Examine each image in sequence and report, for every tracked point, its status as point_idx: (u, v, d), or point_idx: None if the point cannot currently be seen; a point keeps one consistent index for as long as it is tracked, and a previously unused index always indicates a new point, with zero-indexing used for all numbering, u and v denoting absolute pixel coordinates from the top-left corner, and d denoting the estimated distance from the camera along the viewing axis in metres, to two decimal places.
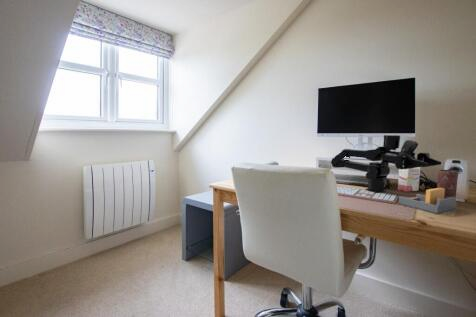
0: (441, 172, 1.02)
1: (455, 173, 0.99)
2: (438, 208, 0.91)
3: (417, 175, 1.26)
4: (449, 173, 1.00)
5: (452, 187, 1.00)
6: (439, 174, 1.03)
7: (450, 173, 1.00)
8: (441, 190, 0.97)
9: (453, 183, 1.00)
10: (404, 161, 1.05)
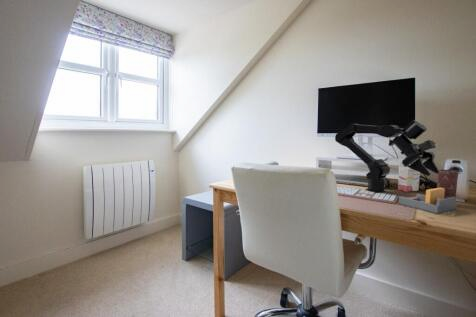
0: (441, 172, 1.02)
1: (455, 173, 0.99)
2: (438, 208, 0.91)
3: (417, 175, 1.26)
4: (449, 173, 1.00)
5: (452, 187, 1.00)
6: (439, 174, 1.03)
7: (450, 173, 1.00)
8: (441, 190, 0.97)
9: (453, 183, 1.00)
10: (413, 162, 1.05)
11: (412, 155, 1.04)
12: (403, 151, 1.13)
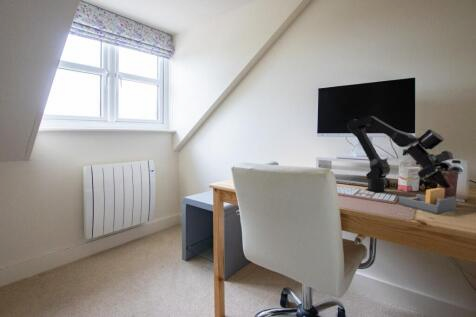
0: (441, 172, 1.02)
1: (455, 173, 0.99)
2: (438, 208, 0.91)
3: (417, 175, 1.26)
4: (449, 173, 1.00)
5: (452, 187, 1.00)
6: None
7: (450, 173, 1.00)
8: (441, 190, 0.97)
9: (453, 183, 1.00)
10: (432, 173, 1.02)
11: (429, 167, 1.00)
12: (418, 162, 1.08)
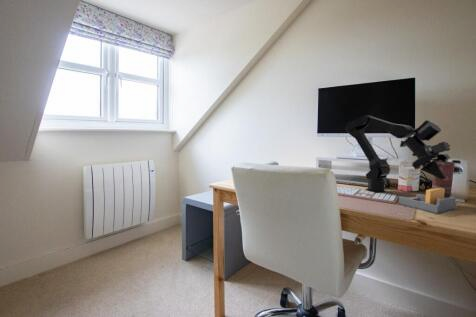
0: (437, 163, 1.01)
1: (451, 164, 0.98)
2: (438, 208, 0.91)
3: (417, 175, 1.26)
4: (444, 164, 0.99)
5: (447, 178, 0.99)
6: None
7: (445, 164, 0.99)
8: (441, 190, 0.97)
9: (448, 175, 0.99)
10: (426, 164, 1.01)
11: (423, 157, 0.99)
12: (415, 153, 1.08)
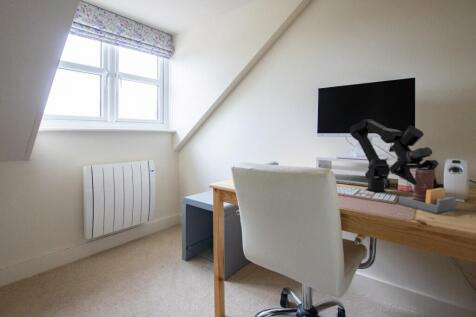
0: (416, 170, 1.02)
1: (429, 172, 0.98)
2: (438, 208, 0.91)
3: None
4: (422, 172, 0.99)
5: (425, 186, 0.99)
6: (415, 172, 1.03)
7: (423, 172, 0.99)
8: (442, 190, 0.97)
9: (426, 182, 0.99)
10: (399, 169, 1.02)
11: (397, 162, 1.02)
12: (399, 158, 1.09)
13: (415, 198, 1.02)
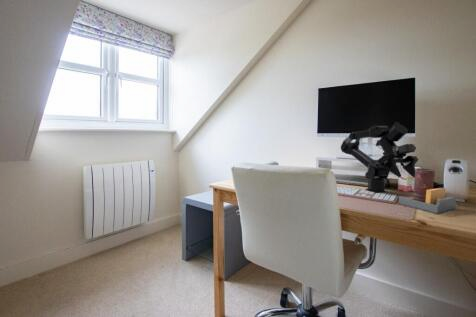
0: (416, 171, 1.02)
1: (428, 172, 0.98)
2: (438, 208, 0.91)
3: None
4: (422, 172, 0.99)
5: (424, 186, 0.99)
6: (415, 173, 1.03)
7: (423, 172, 0.99)
8: (442, 190, 0.97)
9: (426, 182, 0.99)
10: (386, 162, 1.10)
11: (385, 155, 1.09)
12: (385, 152, 1.17)
13: (415, 198, 1.02)
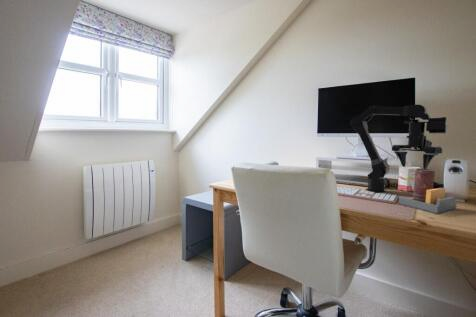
0: (416, 171, 1.02)
1: (428, 172, 0.98)
2: (438, 208, 0.91)
3: None
4: (422, 172, 0.99)
5: (424, 186, 0.99)
6: (415, 173, 1.03)
7: (423, 172, 0.99)
8: (442, 190, 0.97)
9: (426, 182, 0.99)
10: (435, 154, 1.07)
11: (441, 149, 1.07)
12: (420, 136, 1.11)
13: (415, 198, 1.02)
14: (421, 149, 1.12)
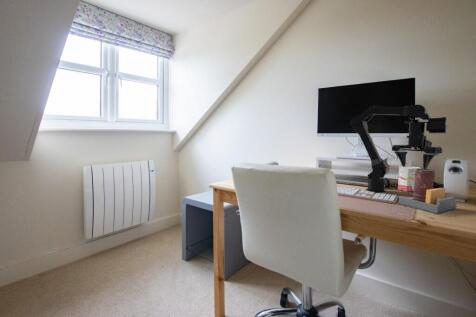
0: (416, 170, 1.02)
1: (428, 172, 0.98)
2: (438, 208, 0.91)
3: None
4: (422, 172, 0.99)
5: (425, 186, 0.99)
6: (415, 173, 1.03)
7: (423, 172, 0.99)
8: (442, 190, 0.97)
9: (426, 182, 0.99)
10: (435, 154, 1.07)
11: (441, 149, 1.07)
12: (420, 136, 1.11)
13: (415, 198, 1.02)
14: (421, 149, 1.12)
